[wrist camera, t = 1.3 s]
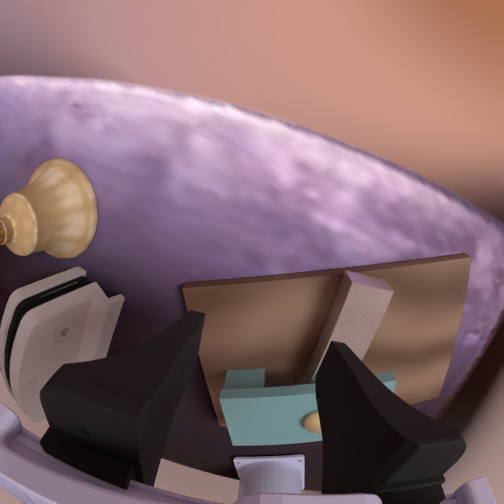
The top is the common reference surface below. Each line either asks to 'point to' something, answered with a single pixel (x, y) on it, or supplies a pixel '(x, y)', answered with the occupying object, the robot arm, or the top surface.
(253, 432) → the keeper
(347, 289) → the link
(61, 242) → the hand bell
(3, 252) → the top surface
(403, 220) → the top surface
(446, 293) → the base plate
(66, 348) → the hinge
